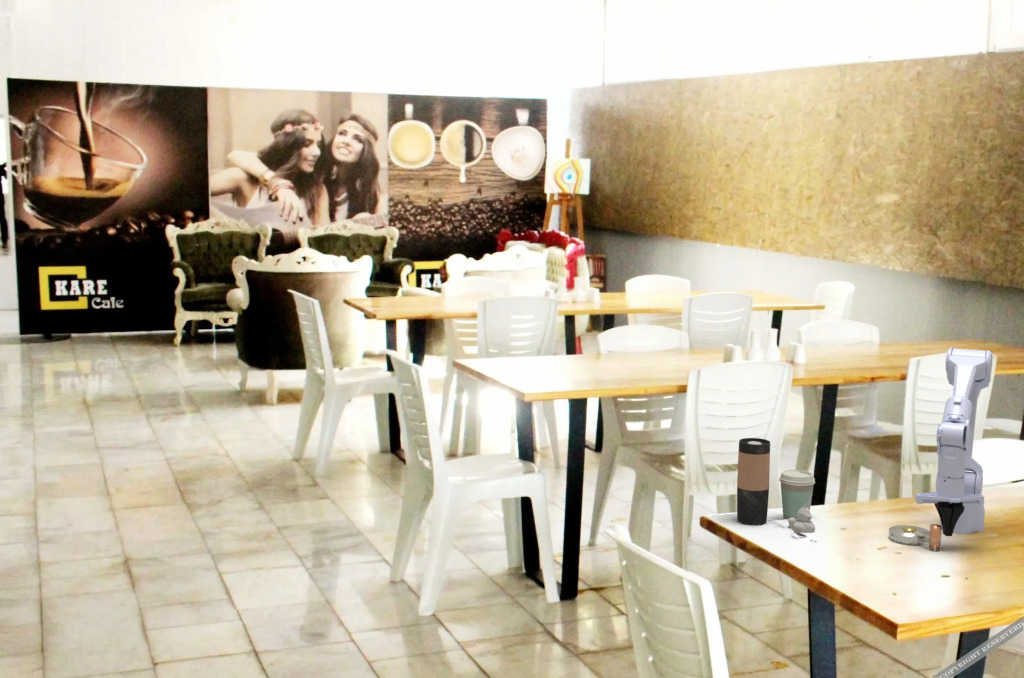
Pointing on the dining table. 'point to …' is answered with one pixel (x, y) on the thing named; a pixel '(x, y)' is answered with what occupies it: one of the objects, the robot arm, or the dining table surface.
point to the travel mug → (753, 481)
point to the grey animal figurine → (802, 522)
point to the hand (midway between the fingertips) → (947, 535)
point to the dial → (917, 536)
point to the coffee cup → (796, 491)
